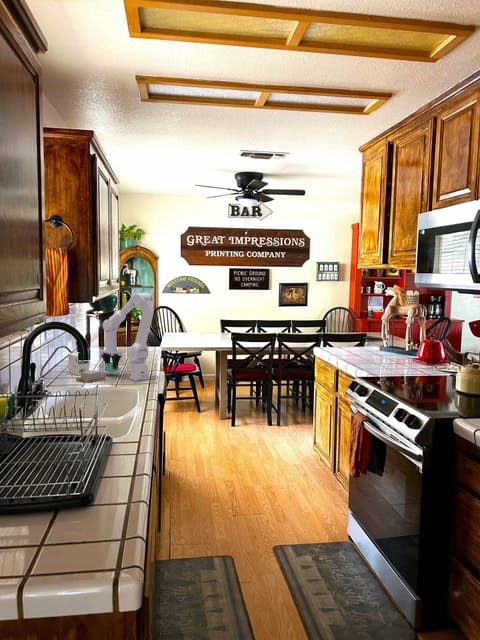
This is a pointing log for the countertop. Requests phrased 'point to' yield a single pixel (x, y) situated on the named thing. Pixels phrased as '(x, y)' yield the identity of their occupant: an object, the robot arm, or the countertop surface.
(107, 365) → the teal block
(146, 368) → the robot arm
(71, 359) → the light bulb box
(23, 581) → the countertop surface
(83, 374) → the grey middle slab
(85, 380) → the walnut base slab
